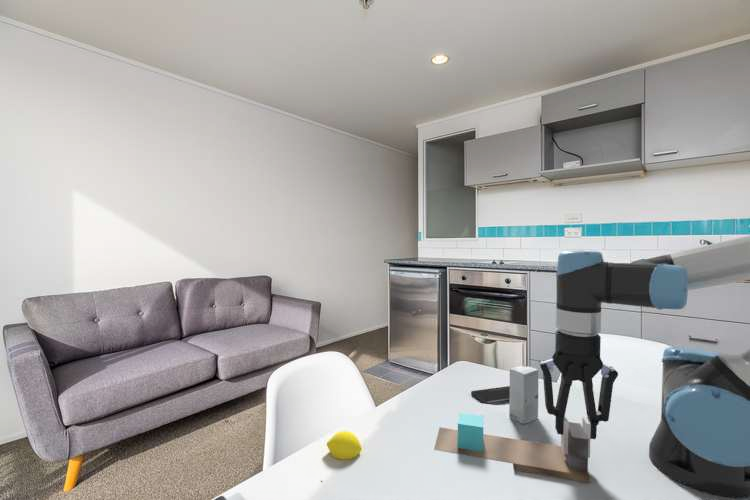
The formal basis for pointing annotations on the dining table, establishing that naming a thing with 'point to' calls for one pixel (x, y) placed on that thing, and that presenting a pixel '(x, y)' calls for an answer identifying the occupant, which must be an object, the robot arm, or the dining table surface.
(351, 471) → the dining table surface
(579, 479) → the walnut strip
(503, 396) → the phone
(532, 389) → the skincare box
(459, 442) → the teal block
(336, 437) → the lemon
